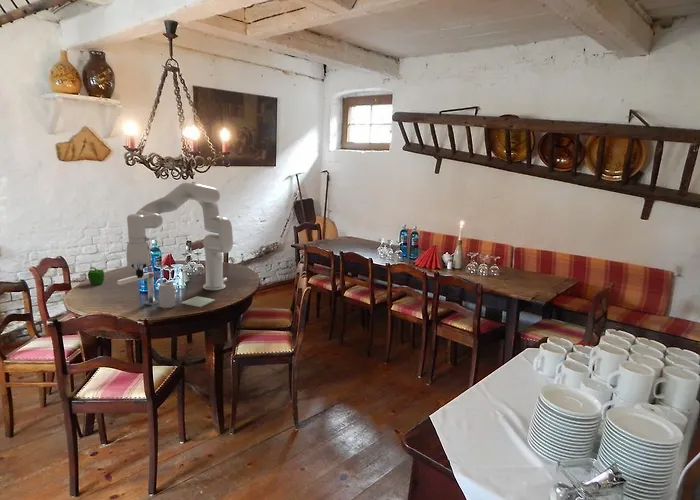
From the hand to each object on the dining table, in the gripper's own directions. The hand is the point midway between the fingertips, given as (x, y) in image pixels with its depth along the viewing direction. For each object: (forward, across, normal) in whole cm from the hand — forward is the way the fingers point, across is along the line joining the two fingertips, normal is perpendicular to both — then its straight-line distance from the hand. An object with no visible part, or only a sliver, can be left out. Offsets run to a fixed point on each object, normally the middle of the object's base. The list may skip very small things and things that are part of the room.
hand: (140, 277), depth 218 cm
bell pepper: (+18, +36, -47) cm, 61 cm away
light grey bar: (+3, +3, -4) cm, 6 cm away
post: (+17, -2, -11) cm, 20 cm away
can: (+18, -11, -6) cm, 21 cm away
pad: (+18, -25, -12) cm, 33 cm away
